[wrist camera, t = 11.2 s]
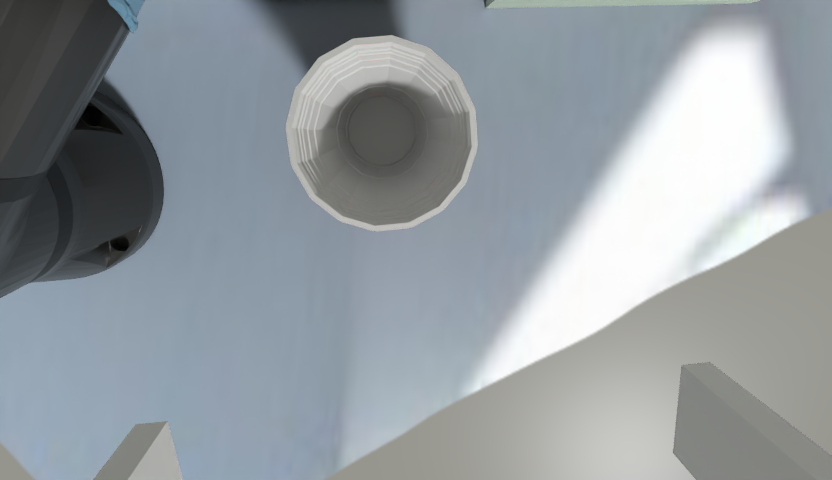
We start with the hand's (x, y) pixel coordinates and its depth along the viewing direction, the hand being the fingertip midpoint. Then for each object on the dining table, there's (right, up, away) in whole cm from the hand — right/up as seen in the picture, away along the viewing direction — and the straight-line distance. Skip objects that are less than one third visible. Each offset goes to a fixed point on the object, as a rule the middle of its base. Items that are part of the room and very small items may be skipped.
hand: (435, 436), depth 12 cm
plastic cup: (-3, +14, +25) cm, 29 cm away
